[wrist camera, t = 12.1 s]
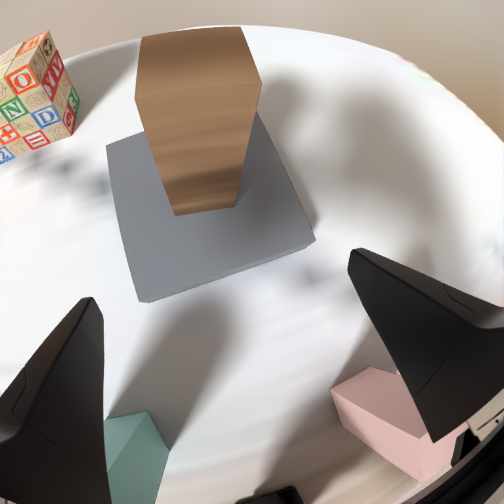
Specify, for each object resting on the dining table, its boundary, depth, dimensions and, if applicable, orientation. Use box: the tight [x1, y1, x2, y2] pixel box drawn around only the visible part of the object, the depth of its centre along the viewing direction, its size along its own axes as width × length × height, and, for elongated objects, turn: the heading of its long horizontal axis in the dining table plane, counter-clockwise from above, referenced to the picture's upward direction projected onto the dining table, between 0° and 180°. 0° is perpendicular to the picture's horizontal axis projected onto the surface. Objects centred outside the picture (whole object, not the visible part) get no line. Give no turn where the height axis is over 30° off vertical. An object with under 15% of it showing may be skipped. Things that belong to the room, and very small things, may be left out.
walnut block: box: [135, 27, 262, 217], centre depth 14 cm, size 4×4×12 cm
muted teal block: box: [104, 411, 170, 504], centre depth 12 cm, size 4×4×12 cm
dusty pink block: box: [330, 367, 468, 484], centre depth 15 cm, size 4×4×12 cm
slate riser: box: [106, 111, 316, 303], centre depth 22 cm, size 14×14×3 cm
